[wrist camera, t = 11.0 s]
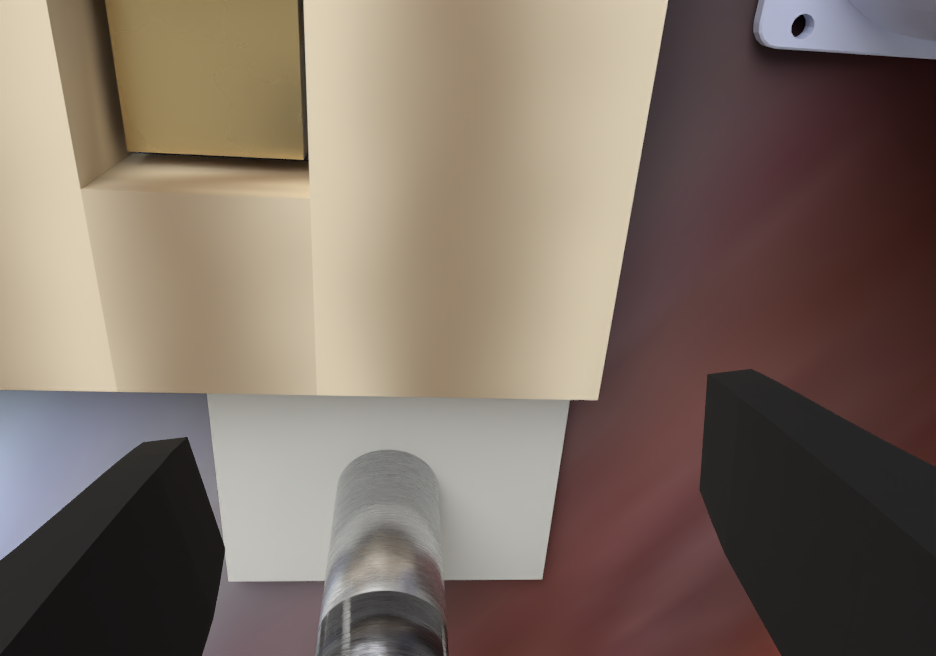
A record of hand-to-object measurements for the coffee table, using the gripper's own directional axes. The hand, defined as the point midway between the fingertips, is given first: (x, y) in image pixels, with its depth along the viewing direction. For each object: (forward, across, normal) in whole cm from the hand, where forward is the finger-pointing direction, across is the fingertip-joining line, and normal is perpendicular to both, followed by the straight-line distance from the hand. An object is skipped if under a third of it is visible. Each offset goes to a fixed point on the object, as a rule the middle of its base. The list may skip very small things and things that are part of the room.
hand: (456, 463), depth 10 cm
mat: (+9, +2, +8) cm, 12 cm away
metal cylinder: (+9, +2, +8) cm, 12 cm away
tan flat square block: (+9, +4, -5) cm, 11 cm away
